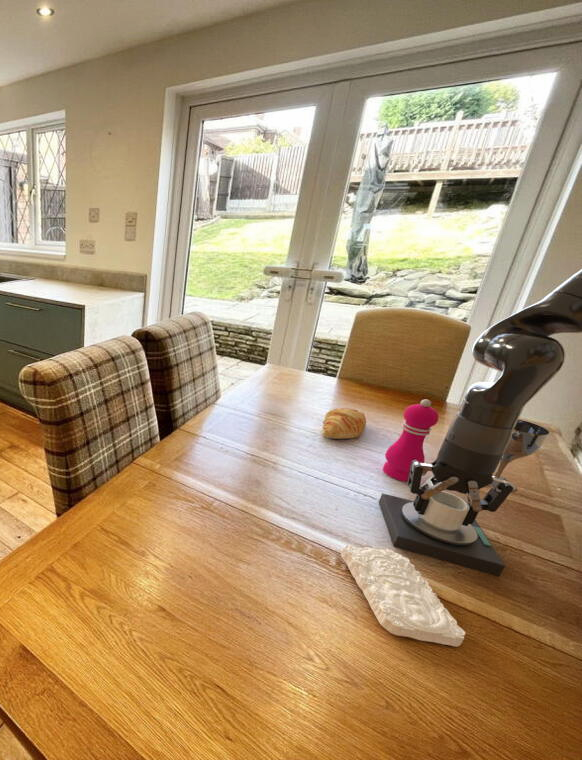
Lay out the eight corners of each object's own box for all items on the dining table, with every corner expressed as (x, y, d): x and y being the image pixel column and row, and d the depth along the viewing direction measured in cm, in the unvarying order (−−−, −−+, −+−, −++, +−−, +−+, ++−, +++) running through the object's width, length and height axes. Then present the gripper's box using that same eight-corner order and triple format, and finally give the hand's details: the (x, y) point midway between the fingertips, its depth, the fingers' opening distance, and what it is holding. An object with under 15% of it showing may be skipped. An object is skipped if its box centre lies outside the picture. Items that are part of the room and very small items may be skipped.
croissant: (330, 455, 109) (352, 439, 103) (302, 427, 114) (321, 410, 108) (365, 433, 120) (386, 417, 114) (338, 408, 125) (357, 392, 119)
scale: (467, 524, 80) (473, 513, 79) (499, 576, 68) (506, 564, 67) (378, 502, 86) (382, 491, 85) (393, 546, 74) (398, 534, 73)
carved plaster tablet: (401, 561, 71) (407, 548, 70) (466, 650, 56) (475, 634, 55) (336, 552, 72) (341, 539, 71) (383, 636, 58) (390, 621, 57)
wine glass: (516, 496, 88) (548, 438, 82) (469, 479, 94) (495, 424, 88) (520, 483, 93) (550, 427, 87) (474, 467, 99) (500, 414, 93)
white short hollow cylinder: (452, 516, 77) (462, 495, 75) (464, 536, 72) (475, 514, 70) (415, 506, 79) (423, 486, 77) (423, 525, 74) (433, 504, 72)
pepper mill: (388, 480, 93) (417, 404, 86) (374, 463, 100) (400, 391, 92) (424, 485, 92) (456, 408, 84) (407, 467, 98) (436, 394, 91)
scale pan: (463, 514, 78) (464, 512, 78) (487, 553, 69) (488, 551, 69) (395, 498, 83) (396, 496, 82) (409, 532, 73) (410, 530, 73)
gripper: (519, 441, 69) (481, 517, 75) (417, 423, 75) (389, 495, 81) (543, 463, 63) (498, 543, 69) (429, 441, 69) (398, 517, 75)
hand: (440, 517), depth 75 cm, fingers closed on white short hollow cylinder, 6 cm apart
